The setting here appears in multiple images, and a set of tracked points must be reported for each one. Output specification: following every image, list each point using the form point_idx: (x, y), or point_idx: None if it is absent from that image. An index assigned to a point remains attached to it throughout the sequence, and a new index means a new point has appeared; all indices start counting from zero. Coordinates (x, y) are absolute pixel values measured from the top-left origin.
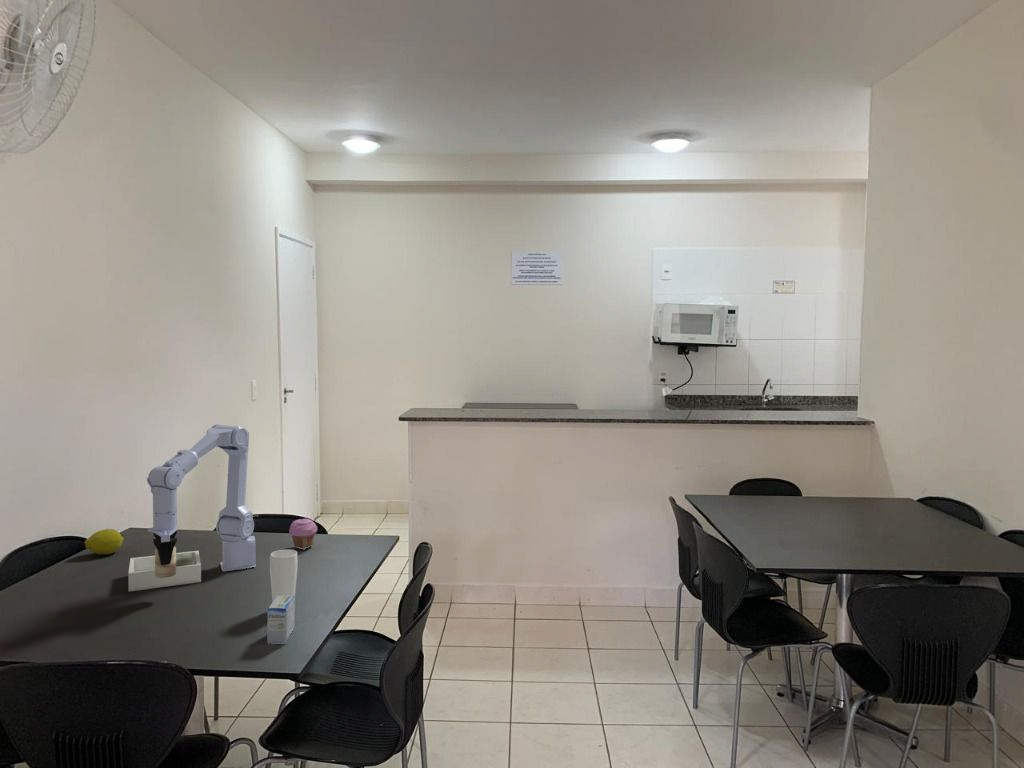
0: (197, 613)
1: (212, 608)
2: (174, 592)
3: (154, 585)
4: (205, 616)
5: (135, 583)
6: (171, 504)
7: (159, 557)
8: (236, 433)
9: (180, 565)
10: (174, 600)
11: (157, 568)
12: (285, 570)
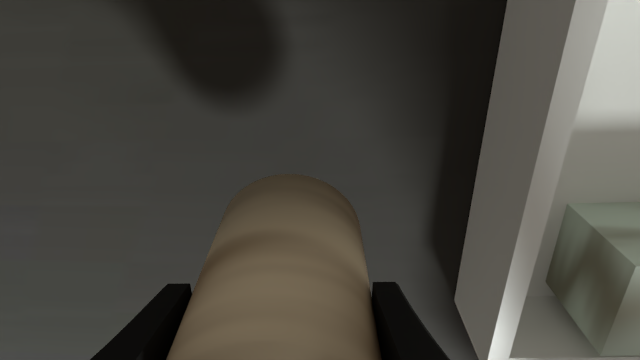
0: (53, 277)
1: (101, 323)
2: (364, 199)
3: (493, 113)
4: (15, 300)
5: (528, 5)
6: None
7: (114, 337)
8: None
9: (596, 275)
10: None
11: (227, 229)
12: None
